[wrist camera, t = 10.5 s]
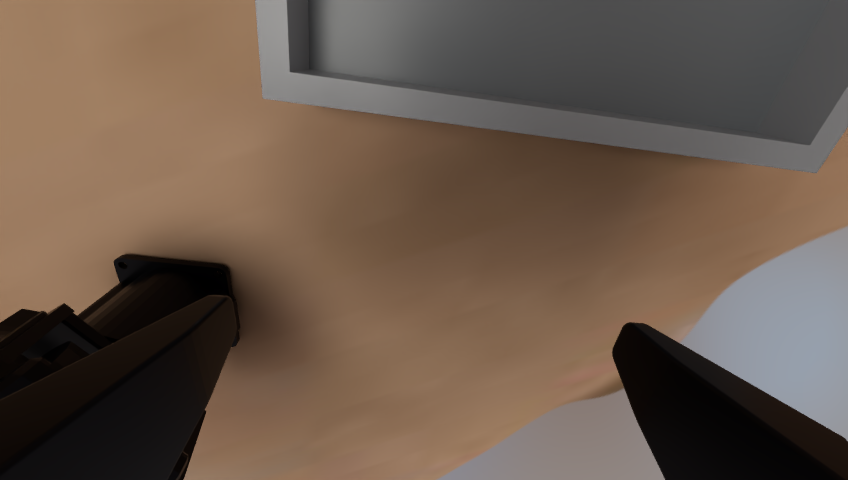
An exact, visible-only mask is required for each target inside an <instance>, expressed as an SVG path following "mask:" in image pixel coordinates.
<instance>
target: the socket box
mask: <svg viewBox="0 0 848 480" xmlns="http://www.w3.org/2000/svg"><path fill="white" fill-rule="evenodd" d="M255 4H256V17H257V30H258V43H259V56H260V69H261V81H262V94H263V99H270V100H277V101H285V102H292V103H300V104H307V105H314V106H322V107H329V108H337V109H344V110H352V111H359V112H366V113H374V114H381V115H389V116H396V117H403V118H411V119H418V120H426V121H433V122H441V123H448V124H455V125H463V126H470V127H478V128H485V129H492V130H500V131H507V132H515V133H522V134H529V135H537V136H544V137H552V138H559V139H567V140H574V141H581V142H589V143H596V144H604V145H611V146H618V147H626V148H633V149H641V150H648V151H656V152H663V153H670V154H678V155H685V156H693V157H700V158H707V159H715V160H722V161H730V162H737V163H744V164H752V165H759V166H767V167H774V168H782V169H789V170H796V171H804V172H811V173H817V172H818V170H819V169H820V167H821V166H822V164H823V163H824V161H825V160H826V158H827V157H828V156H829V154H830V153H831V151H832V150H833V148H834V147H835V145H836V144H837V142H838V141H839V139H840V138H841V136H842V135H843V133H844V132H845V130H846V129H847V127H848V0H255Z"/></svg>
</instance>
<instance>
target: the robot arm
mask: <svg viewBox="0 0 848 480" xmlns="http://www.w3.org/2000/svg"><path fill="white" fill-rule="evenodd" d="M125 263H126V264H127V265H126V264H125ZM114 266H115V269H116V272H117V275H118V278H119V281H120V283H119V284H118V285H117V286H115V287H114V288H113V289H111V290H110V291H109V292H108V293H106V294H105V295H104V296H102V297H101V298H100V299H98V300H97V301H96V302H94V303H93V304H92V305H91V306H89V307H88V308H87V309H85V310H84V311H83V312H81V313H80V314H79V315H78V316H77V315H75V314H74V313H73V312H74V310H73V309H71V308H70V307H69V306H67V305H66V304H65V303H63V304H62V305H60V306H59V307H57V308H55V309H54V310H52V311H50V312H49V313H46V312H44V311H41V312H37V311H32V310H26V309H21V310H19V311H18V312H16V313H15V314H13V315H12V316H10V317H8V318H7V319H5V320H4V321H2V322H1V323H0V480H183V479H184V477H185V474H186V471H187V468H188V465H189V462H190V459H191V456H192V453H193V450H194V447H195V444H196V441H197V438H198V435H199V432H200V429H201V426H202V423H203V420H204V417H205V414H206V411H205V408H206V406H207V404H208V402H209V399H210V397H211V395H212V393H213V390H214V388H215V385H216V383H217V380H218V378H219V375H220V373H221V370H222V368H223V365H224V363H225V360H226V358H227V355H228V353H229V351H230V348H231V347H234V346H236V345H237V343H238V341H239V332H238V330H239V329H240V324H239V317H238V310H237V303H236V299H235V297H234V296H233V292H232V285H231V279H230V272H229V269H228V268H227V267H226V266H224V265H221V264H212V263H202V262H192V261H182V260H172V259H162V258H152V257H142V256H132V255H122V256H120V257H118V258H117V259H115V261H114ZM217 271H218V272H220V273H222V275H221V274H219V273H218V272H217ZM612 355H613V359H614V362H615V365H616V367H617V370H618V373H619V375H620V378H621V381H622V383H623V386H624V389H625V391H626V394H627V396H628V399H629V402H630V404H631V407H632V410H633V412H634V415H635V417H636V420H637V422H638V424H639V426H640V428H641V430H642V432H643V435H644V437H645V439H646V441H647V443H648V445H649V447H650V449H651V451H652V453H653V455H654V457H655V459H656V461H657V463H658V465H659V468H660V470H661V472H662V474H663V476H664V478H665V480H848V441H847V440H846V439H845V438H844V437H842V436H840V435H839V434H837V433H835V432H833V431H832V430H830V429H828V428H826V427H825V426H823V425H821V424H819V423H818V422H816V421H814V420H812V419H810V418H809V417H807V416H805V415H804V414H802V413H800V412H798V411H797V410H795V409H793V408H791V407H790V406H788V405H786V404H784V403H783V402H781V401H779V400H778V399H776V398H774V397H772V396H771V395H769V394H767V393H765V392H764V391H762V390H760V389H758V388H757V387H755V386H753V385H751V384H750V383H748V382H746V381H744V380H743V379H741V378H739V377H737V376H736V375H734V374H732V373H731V372H729V371H727V370H725V369H724V368H722V367H720V366H718V365H717V364H715V363H713V362H711V361H710V360H708V359H706V358H704V357H703V356H701V355H699V354H697V353H695V352H694V351H692V350H690V349H689V348H687V347H685V346H683V345H682V344H680V343H678V342H676V341H675V340H673V339H671V338H670V337H668V336H666V335H664V334H663V333H661V332H659V331H657V330H656V329H654V328H652V327H650V326H649V325H647V324H644V323H632V322H629V323H626V324H625V325H624V326H623V327H622V330H621V332H620V334H619V336H618V338H617V340H616V342H615V344H614V347H613V351H612Z"/></svg>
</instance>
